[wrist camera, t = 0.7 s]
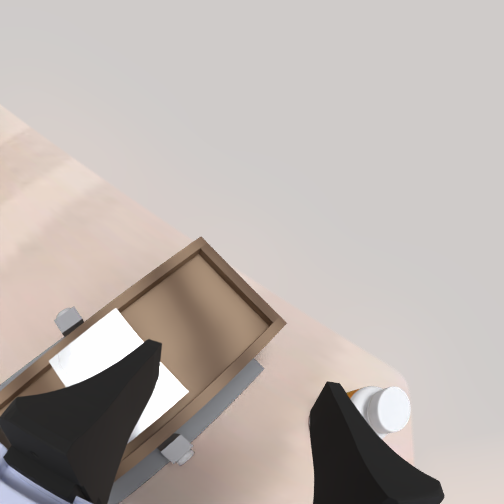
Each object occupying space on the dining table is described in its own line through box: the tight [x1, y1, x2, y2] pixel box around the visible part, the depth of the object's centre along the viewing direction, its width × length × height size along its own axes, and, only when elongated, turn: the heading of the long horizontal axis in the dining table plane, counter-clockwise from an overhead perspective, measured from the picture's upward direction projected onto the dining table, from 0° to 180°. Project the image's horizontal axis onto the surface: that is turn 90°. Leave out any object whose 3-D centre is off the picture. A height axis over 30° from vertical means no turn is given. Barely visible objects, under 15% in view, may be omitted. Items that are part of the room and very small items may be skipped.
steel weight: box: [49, 308, 188, 444], centre depth 17 cm, size 6×7×4 cm
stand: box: [0, 307, 264, 504], centre depth 20 cm, size 23×14×6 cm, turn 139°
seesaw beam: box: [0, 237, 287, 482], centre depth 17 cm, size 26×10×4 cm, turn 138°
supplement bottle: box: [309, 386, 411, 439], centre depth 23 cm, size 5×5×10 cm
